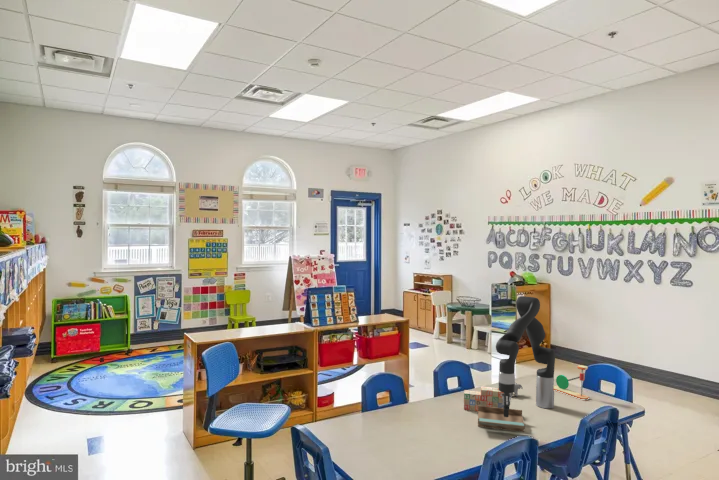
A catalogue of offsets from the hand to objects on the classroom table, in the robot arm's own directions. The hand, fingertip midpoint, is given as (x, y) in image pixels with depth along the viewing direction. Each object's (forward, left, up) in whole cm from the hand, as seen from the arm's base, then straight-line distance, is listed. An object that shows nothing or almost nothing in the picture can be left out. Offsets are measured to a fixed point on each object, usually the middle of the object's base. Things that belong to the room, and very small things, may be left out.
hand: (506, 416), depth 226 cm
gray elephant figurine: (-8, -62, -9) cm, 63 cm away
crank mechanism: (-42, -75, -9) cm, 86 cm away
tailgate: (+2, -4, -5) cm, 7 cm away
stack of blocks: (+10, -30, -9) cm, 33 cm away
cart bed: (+2, -11, -9) cm, 14 cm away
